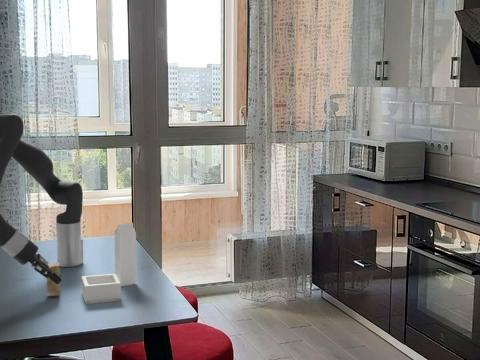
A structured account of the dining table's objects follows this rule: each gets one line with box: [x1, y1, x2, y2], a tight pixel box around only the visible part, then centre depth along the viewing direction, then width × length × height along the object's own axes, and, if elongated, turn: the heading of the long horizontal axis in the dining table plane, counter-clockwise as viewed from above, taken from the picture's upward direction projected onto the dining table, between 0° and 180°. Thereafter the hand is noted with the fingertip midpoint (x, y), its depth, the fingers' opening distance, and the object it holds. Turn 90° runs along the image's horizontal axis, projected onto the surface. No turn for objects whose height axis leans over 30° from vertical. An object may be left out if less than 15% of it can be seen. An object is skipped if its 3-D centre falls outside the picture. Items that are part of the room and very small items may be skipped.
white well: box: [81, 273, 122, 305], centre depth 204 cm, size 11×11×6 cm
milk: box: [114, 222, 137, 287], centre depth 219 cm, size 6×6×22 cm
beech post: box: [45, 262, 61, 297], centre depth 203 cm, size 4×4×10 cm
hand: (59, 279), depth 204 cm, fingers closed on beech post, 4 cm apart
